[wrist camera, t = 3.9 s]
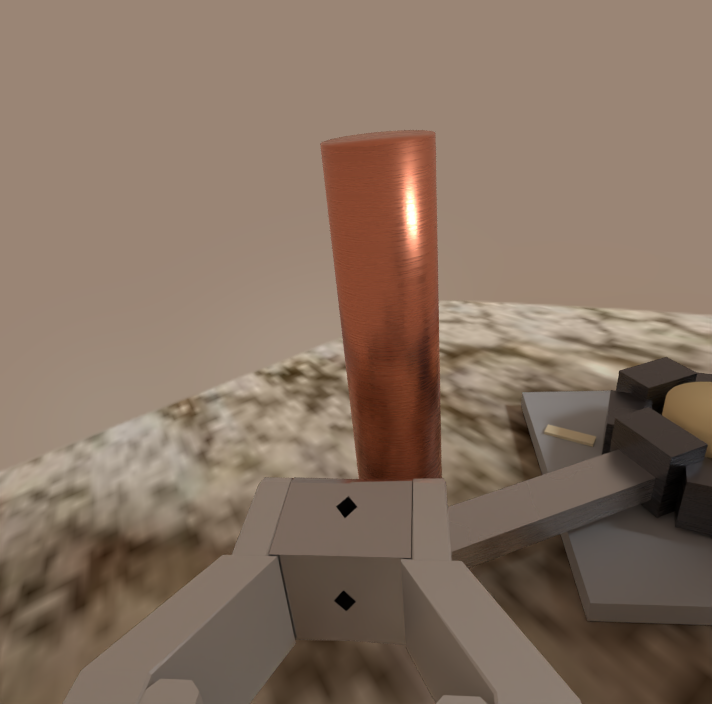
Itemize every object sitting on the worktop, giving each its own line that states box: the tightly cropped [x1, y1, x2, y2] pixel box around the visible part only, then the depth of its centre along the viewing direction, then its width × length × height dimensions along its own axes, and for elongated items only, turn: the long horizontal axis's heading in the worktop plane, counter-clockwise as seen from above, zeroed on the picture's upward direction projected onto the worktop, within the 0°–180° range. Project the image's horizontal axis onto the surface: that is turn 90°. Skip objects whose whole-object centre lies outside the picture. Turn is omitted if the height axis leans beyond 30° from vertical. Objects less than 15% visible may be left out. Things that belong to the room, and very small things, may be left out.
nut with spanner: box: [320, 130, 712, 568], centre depth 19 cm, size 21×9×16 cm, turn 109°
